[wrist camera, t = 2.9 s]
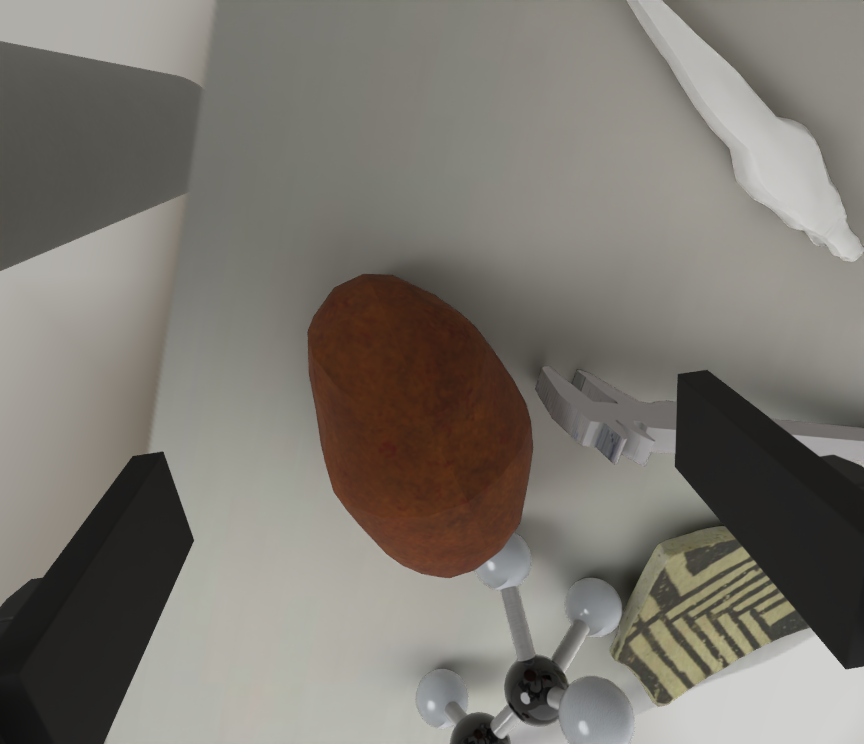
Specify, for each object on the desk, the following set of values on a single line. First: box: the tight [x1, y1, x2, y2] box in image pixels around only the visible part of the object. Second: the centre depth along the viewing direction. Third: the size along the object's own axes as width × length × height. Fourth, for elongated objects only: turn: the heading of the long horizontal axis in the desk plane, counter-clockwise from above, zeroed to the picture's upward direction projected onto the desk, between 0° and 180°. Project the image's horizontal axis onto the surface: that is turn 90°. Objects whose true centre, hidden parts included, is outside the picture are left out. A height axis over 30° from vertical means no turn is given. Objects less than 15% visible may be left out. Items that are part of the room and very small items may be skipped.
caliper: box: [535, 366, 864, 466], centre depth 25 cm, size 20×1×6 cm, turn 77°
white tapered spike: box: [626, 0, 864, 261], centre depth 22 cm, size 15×3×2 cm, turn 48°
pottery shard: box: [610, 526, 810, 707], centre depth 31 cm, size 11×16×2 cm, turn 85°
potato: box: [308, 274, 533, 578], centre depth 22 cm, size 8×12×8 cm, turn 20°
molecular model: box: [416, 532, 635, 744], centre depth 26 cm, size 8×12×11 cm
